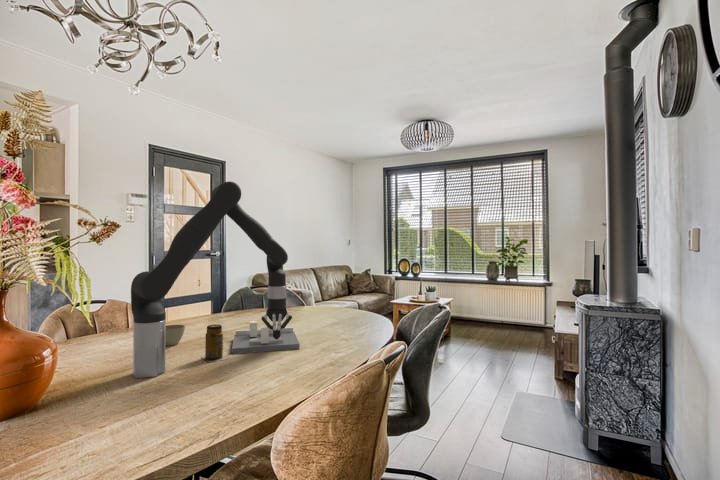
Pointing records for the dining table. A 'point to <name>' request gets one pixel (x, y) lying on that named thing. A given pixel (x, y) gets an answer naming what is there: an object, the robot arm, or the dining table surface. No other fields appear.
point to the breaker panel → (253, 344)
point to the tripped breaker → (264, 334)
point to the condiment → (214, 344)
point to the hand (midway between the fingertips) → (276, 338)
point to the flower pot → (174, 334)
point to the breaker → (253, 328)
